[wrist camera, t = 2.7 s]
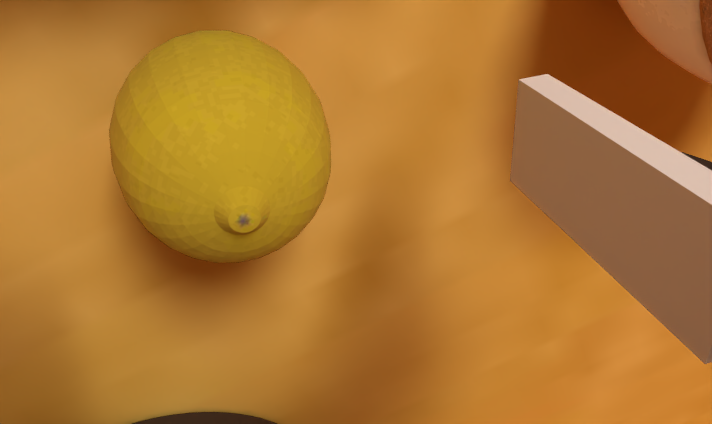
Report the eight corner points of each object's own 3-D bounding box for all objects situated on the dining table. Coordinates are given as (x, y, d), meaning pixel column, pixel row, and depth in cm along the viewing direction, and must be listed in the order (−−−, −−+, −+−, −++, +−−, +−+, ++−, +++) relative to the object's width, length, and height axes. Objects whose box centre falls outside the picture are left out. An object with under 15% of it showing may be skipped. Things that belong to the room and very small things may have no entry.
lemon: (128, -22, 17) (121, 64, 10) (313, 27, 19) (405, 123, 12) (103, 155, 19) (85, 318, 12) (271, 180, 21) (329, 328, 15)
